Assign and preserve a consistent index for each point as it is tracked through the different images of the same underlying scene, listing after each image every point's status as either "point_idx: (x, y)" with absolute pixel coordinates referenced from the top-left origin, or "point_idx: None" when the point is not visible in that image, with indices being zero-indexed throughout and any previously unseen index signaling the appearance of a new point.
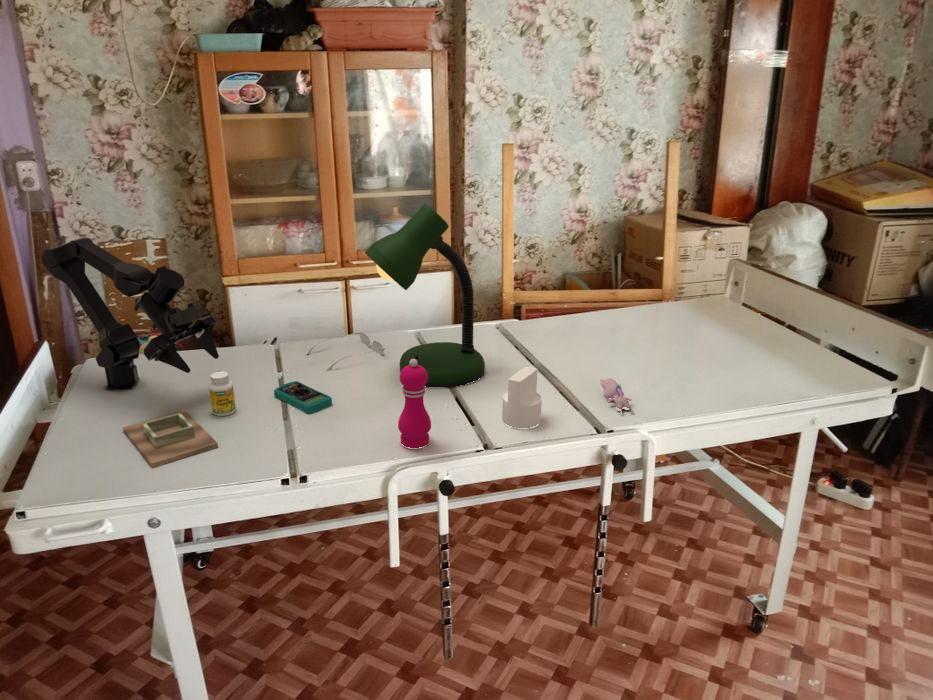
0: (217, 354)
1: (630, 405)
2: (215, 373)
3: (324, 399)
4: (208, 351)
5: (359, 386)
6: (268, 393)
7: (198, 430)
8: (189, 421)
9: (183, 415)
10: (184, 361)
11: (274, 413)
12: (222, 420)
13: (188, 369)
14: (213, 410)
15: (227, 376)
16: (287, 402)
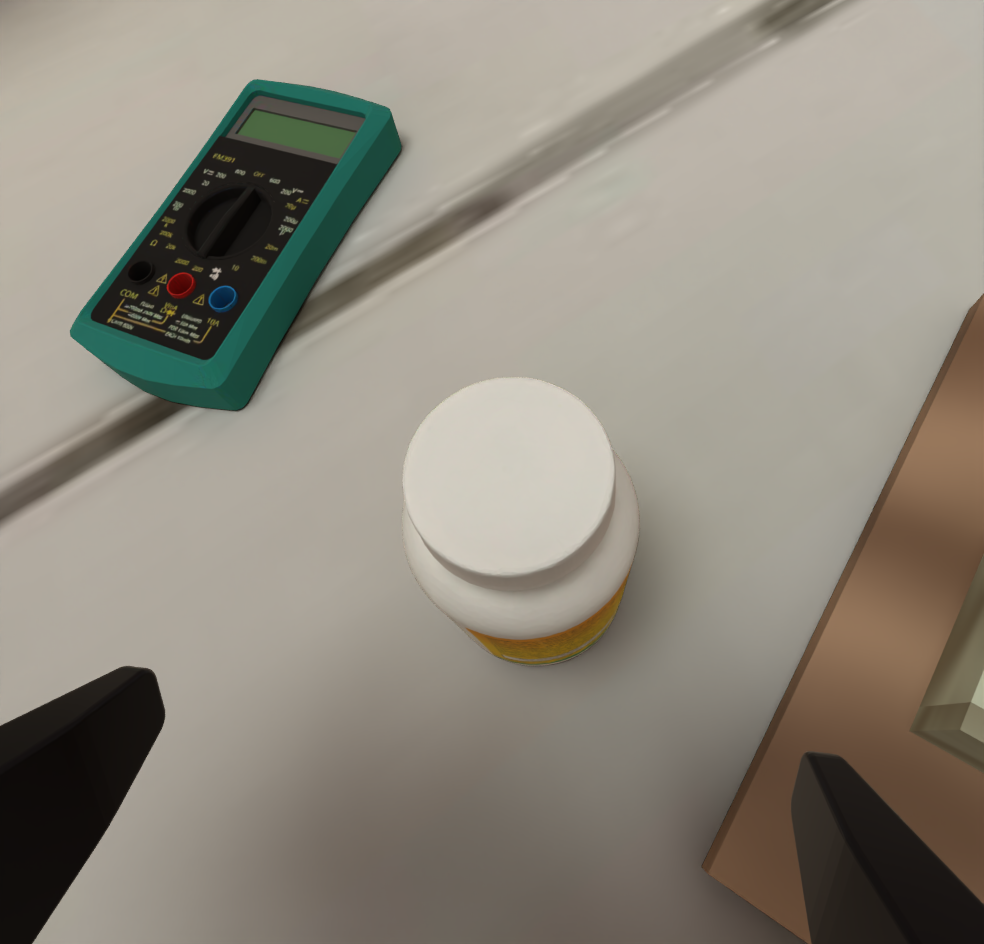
0: (103, 685)
1: None
2: (487, 540)
3: (289, 84)
4: (18, 920)
5: (52, 119)
6: (201, 472)
7: (930, 511)
8: (855, 679)
9: None
10: (914, 925)
11: (450, 287)
12: (659, 507)
13: (856, 773)
14: (617, 608)
15: (491, 384)
16: (307, 293)
